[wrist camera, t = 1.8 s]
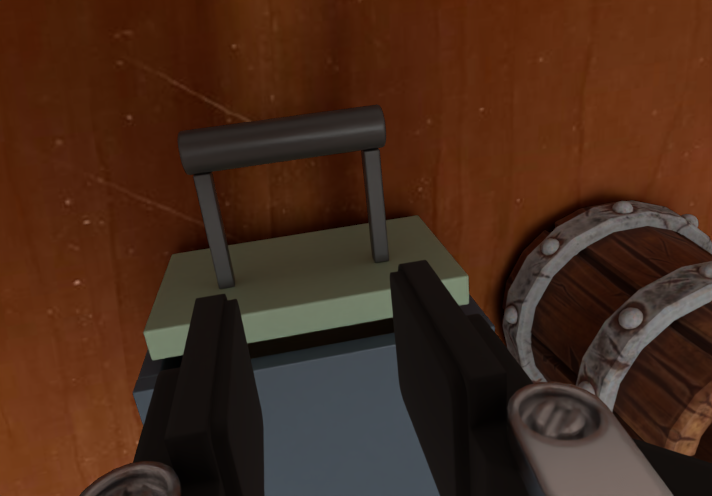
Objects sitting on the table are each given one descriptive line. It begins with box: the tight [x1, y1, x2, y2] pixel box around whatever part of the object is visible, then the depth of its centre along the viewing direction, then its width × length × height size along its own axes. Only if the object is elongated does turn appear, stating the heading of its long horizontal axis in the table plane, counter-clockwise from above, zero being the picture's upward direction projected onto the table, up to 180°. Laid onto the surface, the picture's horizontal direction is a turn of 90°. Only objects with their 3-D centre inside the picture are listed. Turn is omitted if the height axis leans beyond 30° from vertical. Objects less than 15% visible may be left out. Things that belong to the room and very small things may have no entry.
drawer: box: [144, 105, 469, 360], centre depth 24 cm, size 19×11×7 cm, turn 6°
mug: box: [502, 200, 712, 463], centre depth 24 cm, size 12×14×15 cm
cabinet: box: [133, 294, 495, 496], centre depth 26 cm, size 15×13×9 cm
